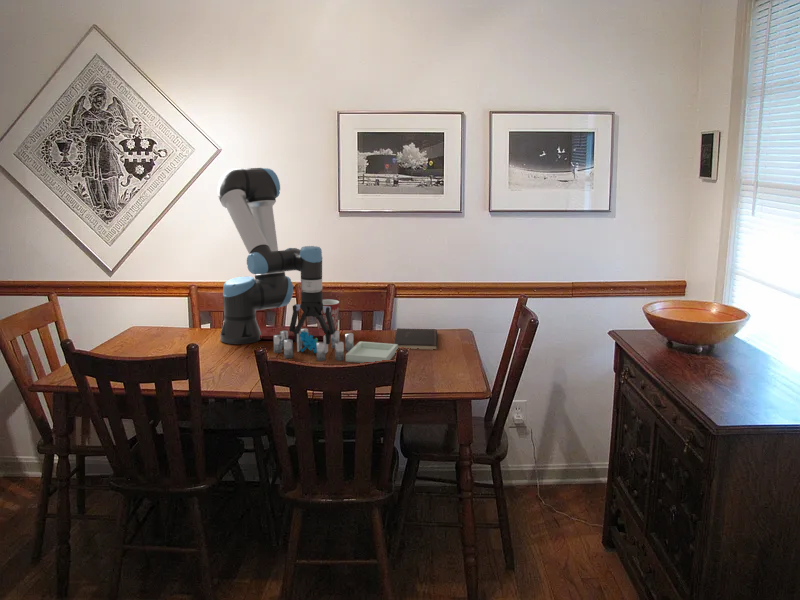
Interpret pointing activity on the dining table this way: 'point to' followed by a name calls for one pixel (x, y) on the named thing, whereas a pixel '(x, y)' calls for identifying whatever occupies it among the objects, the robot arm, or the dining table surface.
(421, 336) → the hardcover book
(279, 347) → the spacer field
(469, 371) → the dining table surface
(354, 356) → the parts tray
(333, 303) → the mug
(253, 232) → the robot arm
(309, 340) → the blue plastic irregular piece
